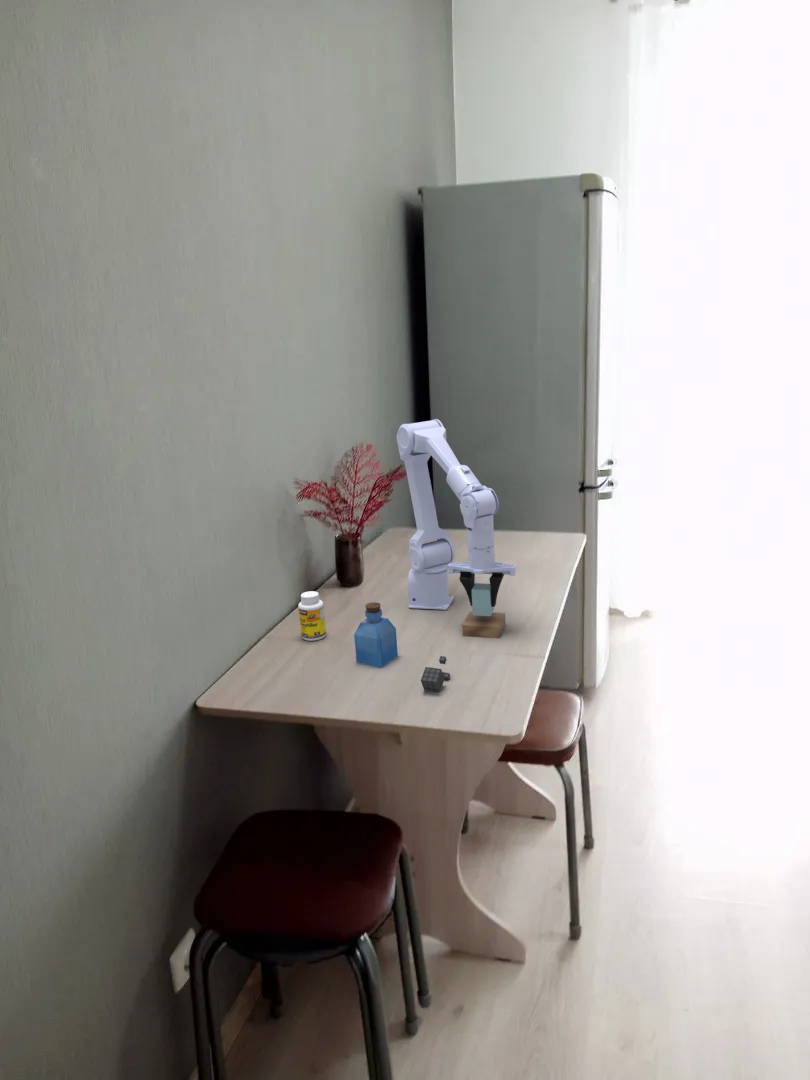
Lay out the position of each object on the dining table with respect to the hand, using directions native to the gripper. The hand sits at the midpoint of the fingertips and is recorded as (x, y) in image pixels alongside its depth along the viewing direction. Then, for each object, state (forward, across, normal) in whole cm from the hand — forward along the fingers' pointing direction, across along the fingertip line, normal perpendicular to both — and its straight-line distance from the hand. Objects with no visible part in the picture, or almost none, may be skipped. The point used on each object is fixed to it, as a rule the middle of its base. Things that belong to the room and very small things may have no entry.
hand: (483, 604), depth 179 cm
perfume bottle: (+6, -19, -18) cm, 27 cm away
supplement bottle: (+6, -37, -9) cm, 39 cm away
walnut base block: (+6, 0, 0) cm, 6 cm away
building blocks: (+6, -4, -27) cm, 28 cm away
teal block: (+2, 0, 0) cm, 2 cm away
